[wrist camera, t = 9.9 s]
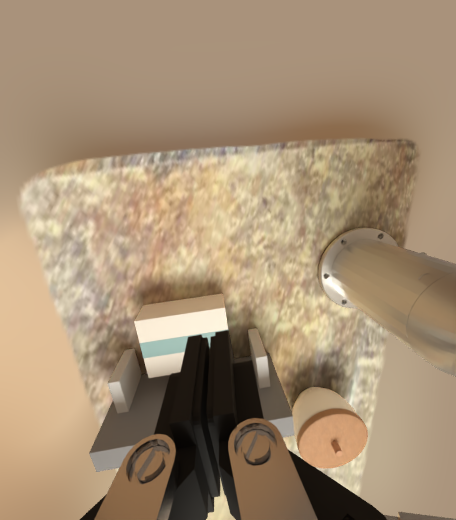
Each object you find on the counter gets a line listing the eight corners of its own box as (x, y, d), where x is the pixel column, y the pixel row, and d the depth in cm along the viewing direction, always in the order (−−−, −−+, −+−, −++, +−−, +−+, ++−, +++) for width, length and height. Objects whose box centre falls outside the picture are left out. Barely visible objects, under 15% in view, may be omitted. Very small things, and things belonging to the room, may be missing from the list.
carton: (222, 292, 38) (225, 307, 33) (230, 343, 40) (233, 364, 35) (143, 304, 37) (133, 321, 32) (155, 355, 40) (148, 378, 35)
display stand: (266, 326, 40) (290, 382, 28) (270, 368, 42) (294, 435, 30) (115, 351, 39) (76, 419, 27) (127, 392, 41) (96, 471, 29)
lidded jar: (277, 422, 45) (295, 479, 36) (291, 372, 43) (313, 422, 34) (332, 425, 47) (362, 482, 38) (349, 378, 44) (385, 426, 35)
